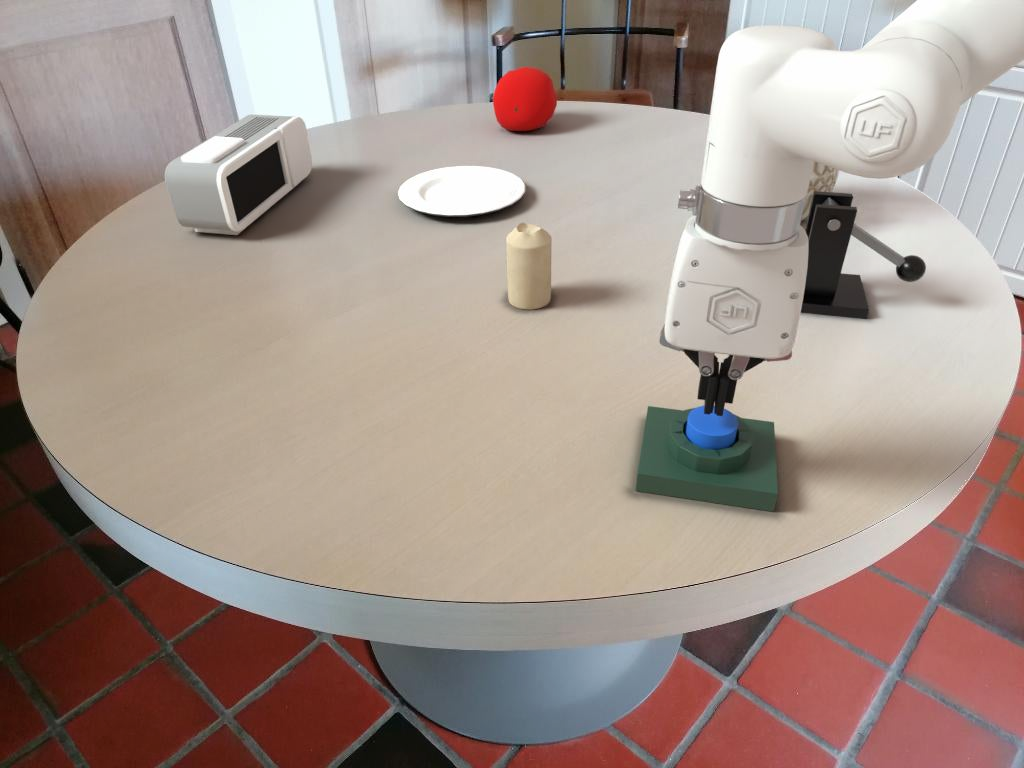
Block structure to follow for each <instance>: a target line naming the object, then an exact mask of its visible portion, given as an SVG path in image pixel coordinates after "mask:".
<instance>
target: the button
mask: <svg viewBox="0 0 1024 768" xmlns="http://www.w3.org/2000/svg"><path fill="white" fill-rule="evenodd" d="M714 407H715V405H714ZM694 408H695V409H693V410H692V411H691V412H690V413H689V415H688V420H687V427H686V435H687V438H688V439H689V440H690V442H692V443H693V444H695V445H697V446H699V447H701V448H704V449H711V450H721V449H725V448H728V447H730V446H731V445H732V444H733V443H734V441H735V438H736V433H737V428H738V421H737V418H736V417H735V415H736V414H734V413H733V412H731V411H729V410H728V409H726V408H724V411H723V416H716V414H714V408H713V413H710V415H708V414H704V405H700V406H697V407H694Z"/></svg>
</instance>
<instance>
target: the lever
mask: <svg viewBox="0 0 1024 768" xmlns="http://www.w3.org/2000/svg"><path fill="white" fill-rule="evenodd" d="M822 205H835V206H841V205H840V204H838V203H837V202H835V201H834V200H832V199H831V198H829V197H828V198H827V199H826V201H825V202H824V203H823V204H822ZM851 236H852V237H853V238H855V239H856V240H858V241H859V242H861V243H862V244H864V245H865V246H867V247H868V248H870V249H871V250H873V251H874V252H876V253H877V254H879V255H880V256H881V257H883V258H884V259H886V260H887V261H889V262H890V263H892V264H893V265H895V273H896V275H897V277H898V278H899V279H900V280H901V281H903V282H906V283H914V282H917V281H919V280H921V279H922V277H924V275H925V274H926V271H927V265H926V262H925V260H924V259H923V258H922V257H920V256H918V255H913V254H911V255H910V254H909V255H905V256H903V255H901V254H900V253H899V252H897V251H895V250H894V249H892V248H891V247H890V246H888V245H886V244H885V243H883V242H882V241H881V240H879V239H878V238H876V237H875V236H873V235H872V234H871V233H869V232H868V231H866V230H865V229H863V228H862V227H861V226H859V225H857V224H856V223H854V225H853V229H852V233H851Z"/></svg>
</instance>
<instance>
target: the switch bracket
mask: <svg viewBox="0 0 1024 768" xmlns="http://www.w3.org/2000/svg"><path fill="white" fill-rule="evenodd" d="M828 197H829V198H831V199H832V200H834V201H835V202H837V203H838V204H840V205H841V206H835V205H822V204H823V203H824V202H825V201H826V199H827V198H828ZM853 200H854V195H853V193H850V192H849V193H847V192H833V191H832V192H819V191H814V192H813V197H812V201H811V205H810V210H809V214H808V217H807V218H806V223H805V228H804V229H805V231H806V234H807V236H808V244H809V247H808V267H807V275H806V283H805V290H804V296H803V302H802V308H801V313H803V314H805V313H806V314H813V315H814V314H815V315H824V316H825V315H826V316H833V317H844V318H853V319H854V318H855V319H864V320H865V319H866V320H867V319H868V316H869V313H870V307H869V303H868V300H867V296H866V293H865V292H866V291H865V288H864V285H863V281H862V277H861V275H860V274H853V273H842V270H843V267H844V263H845V259H846V256H847V251H848V249H849V248H848V247H849V244H850V241H851V236H852V235H851V233H852V229H853V225H854V224H855V221H856V217H857V214H858V208H857V206H852V204H853Z"/></svg>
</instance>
